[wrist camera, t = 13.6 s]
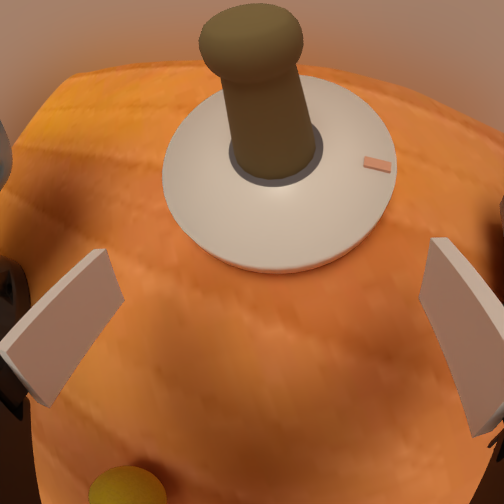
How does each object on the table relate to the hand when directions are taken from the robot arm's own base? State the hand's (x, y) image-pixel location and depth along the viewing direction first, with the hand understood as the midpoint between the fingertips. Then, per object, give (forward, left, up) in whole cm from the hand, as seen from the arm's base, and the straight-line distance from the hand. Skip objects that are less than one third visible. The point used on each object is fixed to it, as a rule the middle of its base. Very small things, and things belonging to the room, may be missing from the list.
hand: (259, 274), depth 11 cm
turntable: (-3, +11, -9) cm, 14 cm away
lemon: (-6, -18, -11) cm, 22 cm away
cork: (-3, +11, -7) cm, 13 cm away
